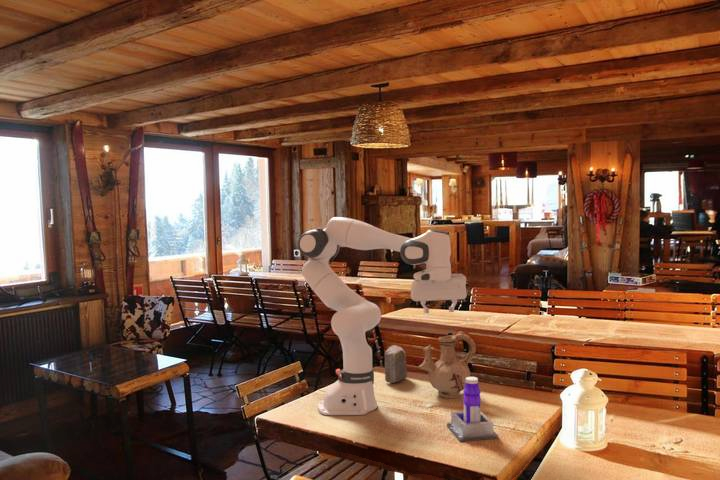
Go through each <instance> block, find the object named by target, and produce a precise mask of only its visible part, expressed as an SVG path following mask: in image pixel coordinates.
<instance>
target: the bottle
mask: <svg viewBox="0 0 720 480" xmlns="http://www.w3.org/2000/svg"><path fill="white" fill-rule="evenodd" d="M480 389H481V388H480V387H479V378H478V377H476V376H470V377H466V385H465V388H464V389H463V390H462V391H463V392H462V393H464V394H463V412H464V423H477V422H481V418H480V411H481V403H482V402H481V401H482V398H481V393H482V391H481V390H480Z"/></svg>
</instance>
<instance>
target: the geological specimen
mask: <svg viewBox="0 0 720 480" xmlns="http://www.w3.org/2000/svg"><path fill="white" fill-rule="evenodd" d="M383 355H384V378H385V382H386V383H390V384H391V383H393V384H394V383H397V382H400V381H403V380H404V379H406V378H407V377H408V375H407V373H408V372H407V359H406V358H407V354H406V352H405V350H404V349H403V348H402V347H401V346H400V345H399V346H398V345H396V344H392V345H390V346H388V347H387V349H386V350H385V352H384V354H383Z"/></svg>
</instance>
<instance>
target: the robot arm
mask: <svg viewBox="0 0 720 480" xmlns="http://www.w3.org/2000/svg"><path fill="white" fill-rule="evenodd" d="M340 246H343V247H347V248H349V249H353V250H360V251H371V250H377V249H378V250H379V249H380V250H381V249H385V250H386V249H387V250H391V251H395V252H399V254H400V257H401V259H402V261H403V262H405V264H407V265H412V266H418V265H421V264H425V265H426V266H425V267H426V268H425V269H423V270H421V271H420V270H419V271H418V272H415V273H414V274H413V279H414V280H413V281H412V282H411V287H410V299H411V300H412V301H413V302H420V305H421V306H422V307H423V313H424V314H429V313H430V308H429V307H427V306H426V303H427V302H428V301H448V300H449V301H451V302H452V303H451V305H450V306H448V312H449V313H454V312H455V307H456V305H457V304H458V300H465V299H466V298H467V286H466V284H467V277H466V275H464V274H463V273H452V264H451V256H452V250H451V249H452V247H451V239H450V235H449V233H448V232H447V231H445V230H442V229H434V228H433V229H428V230H427V231H426V232H424V233H423V234H420V235H419V236H415V237H408V236H405V235H402V234H401V235H400V234H396V233H393V232H388V231H386V230H383V229H381V228H379V227H376V226H374V225H372V224H370V223H367V222H365V221H362V220H358V219H355V218H350V217H343V216H334V217H331V218H330V219H329V220H328V222H327V223H326V227H325V228H324V229H323V227H322V228H321V227H318V228H315V229H311V230H308V231H305V232H303V233H302V234H301V235H300V236H299V238H298V240H297V249H298V251H299V252H300V253H301V255H303V256H304V257H306V258H307V261H306V262H305V263H304V265H303V266H302V269H301V274H302V276H303V278H304V280H305V281H306V283H307V284H308V286H309V287H310V288H311V290H312V291H313V292H314V293H315V295H316V296H317V297H318V298H319V299H320V300H321V302H322V303H323V304H324V305H325V306H326V307H327V308H329V309H331V310H334V311H336V312H335V313H334V314H333V316H332V317H331V321H330V326H331V329H332V331H333V333H334V334H335V335H336V336H337V337H338V339H339V341H340V345H341V349H342V361H343V363H342V364H343V368H342V369H340V368H337V369H335V374H336V375H337V380H336V381H335V382H334V383H332V384H331V385H329V386H328V387H327V388H326V389H325V392H324V394H323V399H322V400H320V401H319V402H318V404H317V410H318V412H319V413H320V414H322V415H324V416H364V415H366V414H368V413H369V412H371V411H374V410H375V409H377V407H378V404H377V399H376V395H375V390H374V389H375V388H374V383H375V371H374V369H373V349H372V347H371V346H370V345H369V344H368V342H367V338H366V332H368V331H370V330H372V329H374V328H375V327H376V326H378V324H379V323H380V321H381V318H382V312H381V309H380V307H379V306H378V305H377V304H376V303H374V302H371V301H369V300H367V299H366V298H365V297H363V296H361V295H360V294H358V293H357V292H356V291H354V290H353V289H352V288H350V287H349V285H347V284H346V283H345V282H344V281H343V280H342V278H340V277H339V275H338V274H337V273H336V272H335V271H334V270H333V268H332V267H331V266H330V265H331V264H333V261H334V259H335V258H336V257H337V255H338V254H339V252H340Z"/></svg>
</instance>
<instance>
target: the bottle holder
mask: <svg viewBox="0 0 720 480" xmlns="http://www.w3.org/2000/svg"><path fill="white" fill-rule="evenodd" d="M480 418H481V422H477V423H464V411H456V412H455V411H453V412H451V413H450V422H449V423H446V428H447V429H448V430H449V431H450V432H451V434H452V435H453V436H454V437H455V438H456V439H457V440H458V442H459V443H462V442H472V441H484V440H496V438H497V439H499V435H498V434H497V433H496V432H495V431H494V421H492V420H491V419H490V418H489V417H488V416H487V415H486V414H485V413H484V412H483V411H482V410H480Z"/></svg>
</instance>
